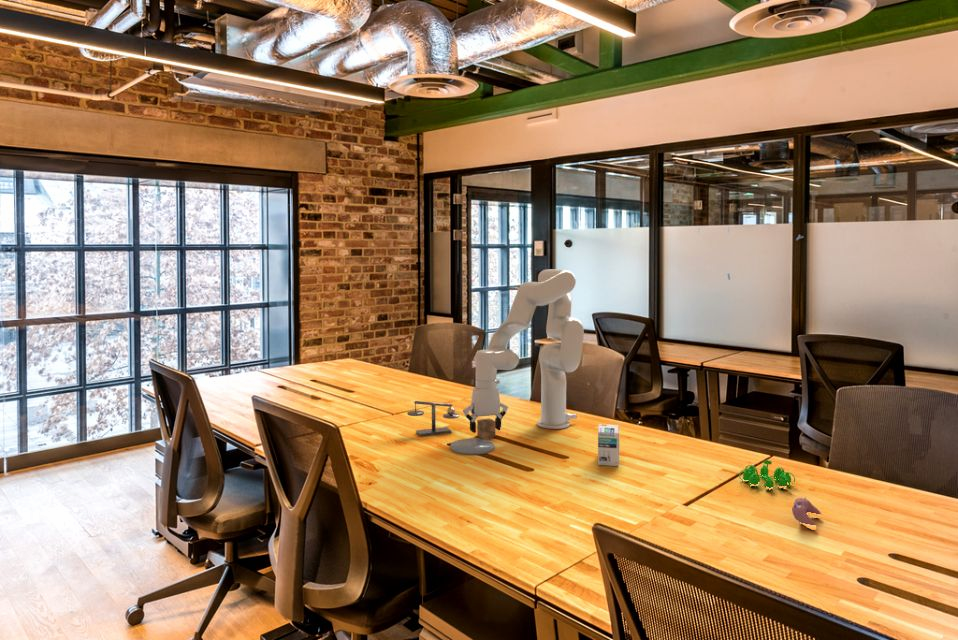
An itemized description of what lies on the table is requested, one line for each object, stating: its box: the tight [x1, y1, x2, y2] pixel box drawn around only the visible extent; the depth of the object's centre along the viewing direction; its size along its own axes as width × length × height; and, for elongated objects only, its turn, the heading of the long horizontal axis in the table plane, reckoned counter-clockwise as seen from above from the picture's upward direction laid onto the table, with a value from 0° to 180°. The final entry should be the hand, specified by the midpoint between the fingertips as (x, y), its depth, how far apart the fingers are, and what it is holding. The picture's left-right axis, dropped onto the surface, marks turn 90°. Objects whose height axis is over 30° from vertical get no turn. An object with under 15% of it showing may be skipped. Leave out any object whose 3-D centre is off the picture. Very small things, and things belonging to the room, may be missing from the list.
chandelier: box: [738, 460, 796, 488], centre depth 195 cm, size 15×15×7 cm
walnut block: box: [476, 417, 496, 440], centre depth 244 cm, size 5×5×6 cm
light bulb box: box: [597, 423, 620, 467], centre depth 216 cm, size 11×7×11 cm, turn 168°
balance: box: [406, 400, 460, 437], centre depth 249 cm, size 20×6×13 cm, turn 113°
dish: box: [450, 437, 495, 456], centre depth 230 cm, size 15×15×1 cm
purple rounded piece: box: [791, 497, 822, 526], centre depth 168 cm, size 10×5×7 cm, turn 146°
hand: (485, 430), depth 244 cm, fingers open, 9 cm apart
